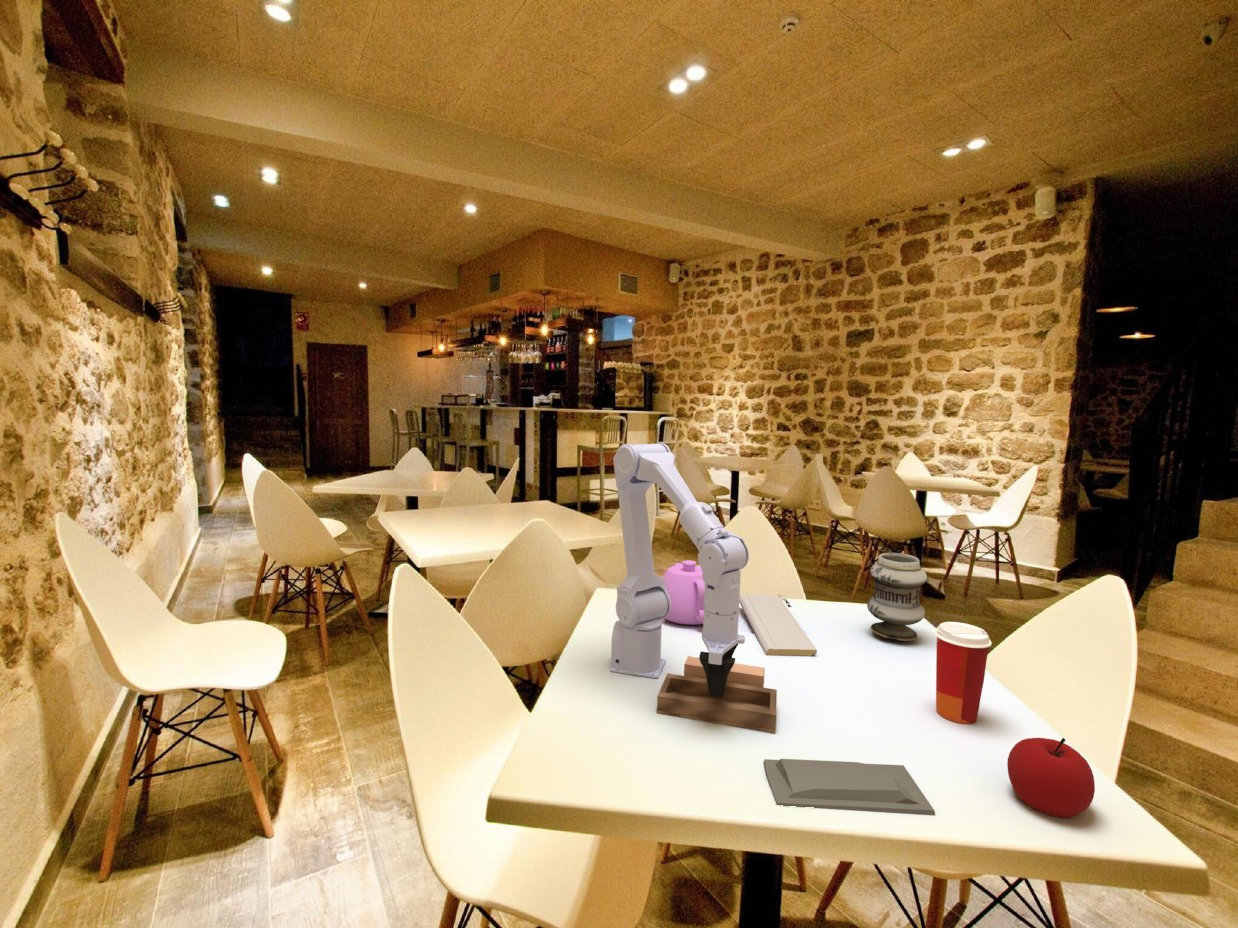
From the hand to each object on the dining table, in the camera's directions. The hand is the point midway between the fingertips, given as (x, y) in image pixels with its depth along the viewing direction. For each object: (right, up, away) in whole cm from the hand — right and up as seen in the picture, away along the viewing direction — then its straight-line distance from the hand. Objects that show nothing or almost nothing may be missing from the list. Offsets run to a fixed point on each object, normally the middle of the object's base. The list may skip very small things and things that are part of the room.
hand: (718, 687), depth 96 cm
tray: (0, -4, 0) cm, 4 cm away
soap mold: (+13, -8, -19) cm, 25 cm away
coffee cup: (+41, -5, +1) cm, 41 cm away
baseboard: (+26, 0, +39) cm, 47 cm away
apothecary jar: (+47, -2, +37) cm, 60 cm away
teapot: (+2, 0, +45) cm, 45 cm away
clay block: (+2, -4, +8) cm, 9 cm away
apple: (+39, -8, -21) cm, 45 cm away
